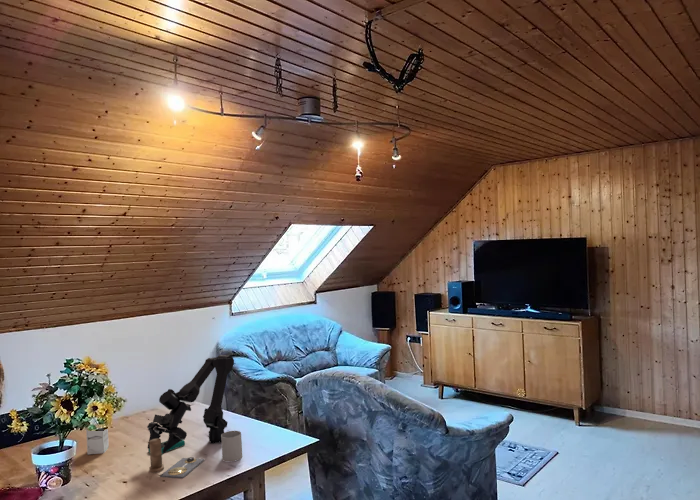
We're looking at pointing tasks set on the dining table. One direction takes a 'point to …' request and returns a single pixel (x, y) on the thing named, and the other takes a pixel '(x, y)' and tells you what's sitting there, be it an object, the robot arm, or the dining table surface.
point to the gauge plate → (182, 468)
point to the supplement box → (97, 441)
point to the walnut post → (155, 456)
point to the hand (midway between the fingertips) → (155, 450)
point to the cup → (231, 446)
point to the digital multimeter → (172, 446)
